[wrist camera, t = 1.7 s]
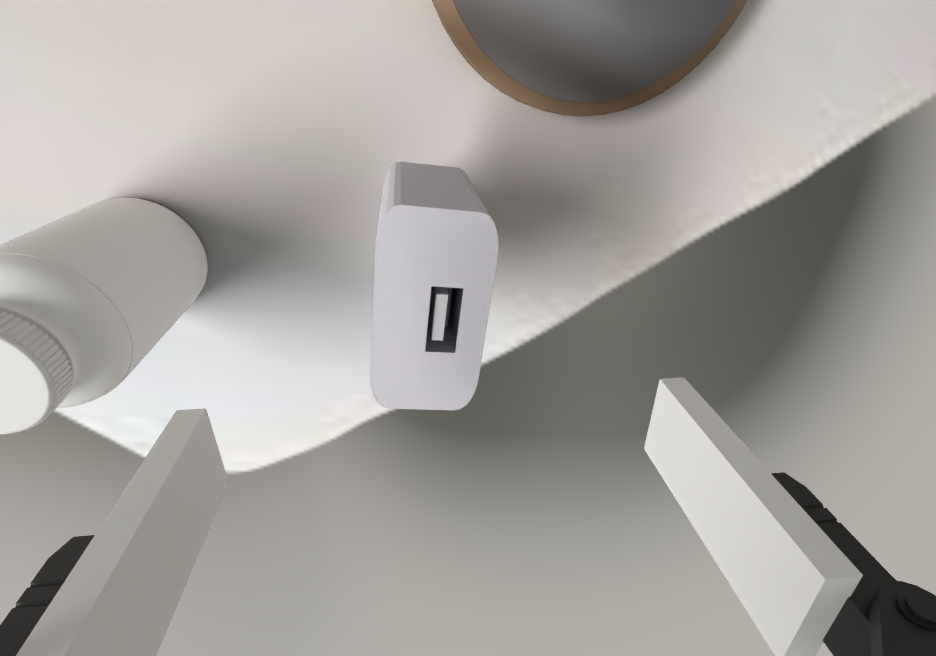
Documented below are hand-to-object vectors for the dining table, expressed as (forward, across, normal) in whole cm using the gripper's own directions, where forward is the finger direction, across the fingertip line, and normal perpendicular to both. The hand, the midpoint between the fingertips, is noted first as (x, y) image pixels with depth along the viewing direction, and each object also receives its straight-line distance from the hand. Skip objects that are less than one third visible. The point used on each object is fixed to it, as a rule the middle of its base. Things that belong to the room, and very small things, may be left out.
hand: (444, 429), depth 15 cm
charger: (+22, 0, 0) cm, 22 cm away
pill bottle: (+22, -18, -2) cm, 28 cm away
